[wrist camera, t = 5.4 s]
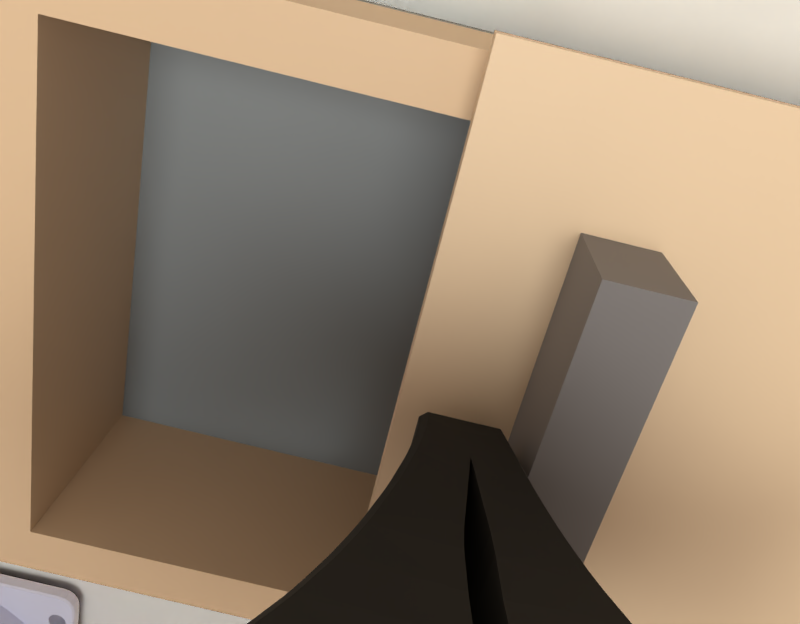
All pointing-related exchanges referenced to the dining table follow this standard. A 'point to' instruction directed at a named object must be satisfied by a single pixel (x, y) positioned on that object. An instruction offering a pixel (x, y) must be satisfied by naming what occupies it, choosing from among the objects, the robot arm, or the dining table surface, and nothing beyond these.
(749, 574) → the lid
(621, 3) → the dining table surface
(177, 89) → the box
